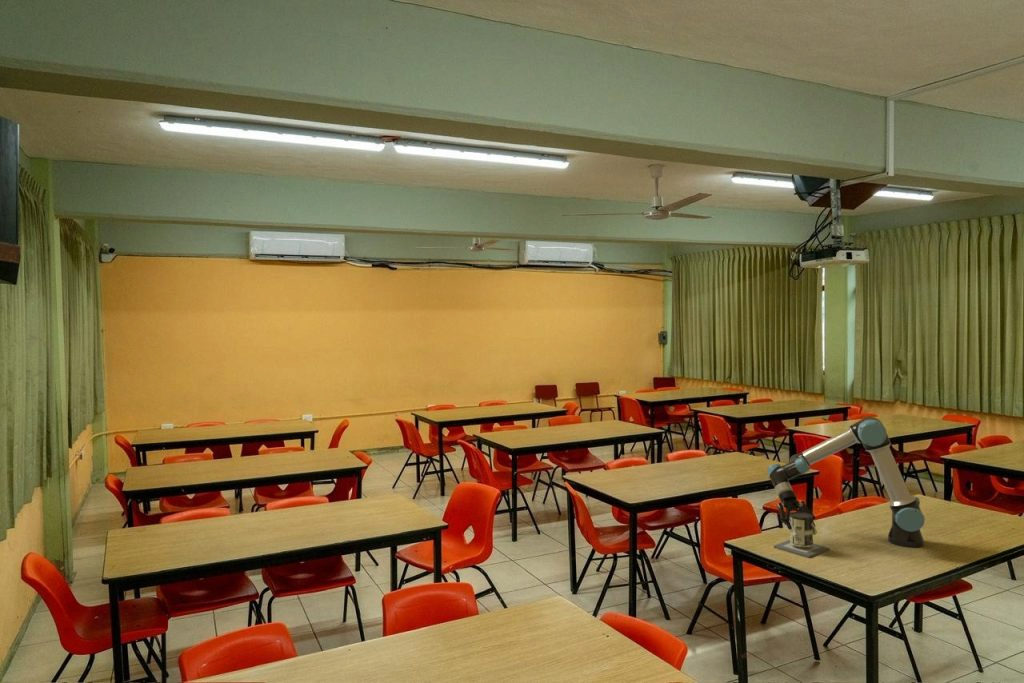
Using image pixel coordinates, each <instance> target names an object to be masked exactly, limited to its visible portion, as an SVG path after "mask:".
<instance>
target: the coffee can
mask: <svg viewBox="0 0 1024 683" xmlns="http://www.w3.org/2000/svg"><path fill="white" fill-rule="evenodd" d="M813 515H814V514H813ZM813 515H811V514H809V513H804V512H796V511H791V512H790V519H789V522H790V521H791V522H792V524H793V526H794V528H795V531H796V533H797V535H796V536H795V537H793V535H792V533H791V531H790V530H789V534H790V535H789V536H790V537H789V540H790V543H791V544H792V545H794V546H799V547H811V546H813V543H814V535H813V522H814V520H813Z"/></svg>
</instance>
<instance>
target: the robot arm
mask: <svg viewBox="0 0 1024 683" xmlns="http://www.w3.org/2000/svg"><path fill="white" fill-rule="evenodd" d="M855 444H862V446H863V448H864V450H865V452H868V453H869V454H870V456H871V458H872V461H873V462H874V465H875V467H876V470H877V472H878V473H879V474H878V475H879V476H880V478H881V481H882V483H883V485H884V486H883V487H885V490H886V493H887V494H888V497H889V499H890V501H889V504H888V505H889V508H890V510H891V527H890V528H889V531H888V534H887V541H888V542H889V543H891V544H894V545H897V546H901V547H907V548H919V547H923V546H924V543H925V542H924V540H925V539H924V537H923V535H922V532H921V529H922V528H923V527H924V524H925V520H926V519H925V515H924V514H923V512H922V511H921V507H920V504H921V502H920V501H921V500H920V498H919V497H918V496H914V495H911V494H910V491H909V490H908V487H907V484H906V482H905V480H904V478H903V475H902V473H901V471H900V469H899V467H898V464H897V462H896V460H895V457H894V455H893V452H892V450H891V448H890V447H891V445H892V442H891V440H890V437H889V435H888V432H887V429H886V427H885V426H884V424H883V422H882V421H881V420H879V418H876V417H874V416H873V417H872V416H866V417H863V418H861V419H860V420H858V421H857V422H854V423H853V424H851V425H849V426H848V429H846V430H844V431H842V432H840V433H838V434H836V435H834V436H832V437H830V438H828V439H826V440H823V441H822V442H820V443H818V444H816V445H814V446H812V447H810V448H808V449H805V450H803V451H802V452H800V453H798V454H796V453H795V454H793V455H792V456H791V457H790V458H789V459H788V460H789V461H788V463H786V464H784V465H781V464H780V463H775V464H771V465H769V466H768V467H767V468H766V472H767V474H768V478H769V480H770V481H771V483H772V485H773V488H774V490H775V491H776V493H777V495H778V498H779V501H780V502H779V503H778V504H777V505H776V507H777V509H778V512H779V513H778V514H779V519H780V522H781V524H784V525H785V526H786V527H787V529H788V530H789V532H790V531H791V533H792V535H793V537H795V536H796V535H797V533H796V531H795V528H794V526H793V524H792V522H791V521H790V513H791V512H804V513H809V514H811V515H813V536H815V535H816V534H817V533H818V530H817V528H816V524H815V522H814V520H815V519H816V516H815V514H814V512H812V511H811V510H810V508H809V507H808V506H807V505H806V503H805V501H804V500H801V501H799V500H797V496H796V494H795V492H794V491H793V487H792V485H791V483H790V482H789V481H790V480H793V479H794V478H797V477H799V476H801V475H803V474H806V473H807V472H809V471H810V470H811V468H810V466H811V465H813V464H815V463H817V462H820V461H821V460H823V459H826V458H828V457H830V456H832V455H834V454H837V453H839V452H840V451H843V450H844V449H847V448H849V447H851V446H853V445H855ZM784 508H785V510H784Z"/></svg>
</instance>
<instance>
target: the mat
mask: <svg viewBox="0 0 1024 683" xmlns="http://www.w3.org/2000/svg"><path fill="white" fill-rule="evenodd" d="M773 548H774V549H776V548H777V549H776V550H780V551H782V552H786V551H787V553H790V554H793V553H794V554H793V555H797V556H801V557H804V558H807V559H810V558H812V557H815V556H818V555H820V554H823V553H825V552H827V551H829V550H831V549H830V547H828V546H824V545H821V544H817V543H814V542H813V546H811V547H799V546H794V545H792V544H791V543H790V539H789V540H786V541H783V542H780V543H777V544H775V545H773Z"/></svg>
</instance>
